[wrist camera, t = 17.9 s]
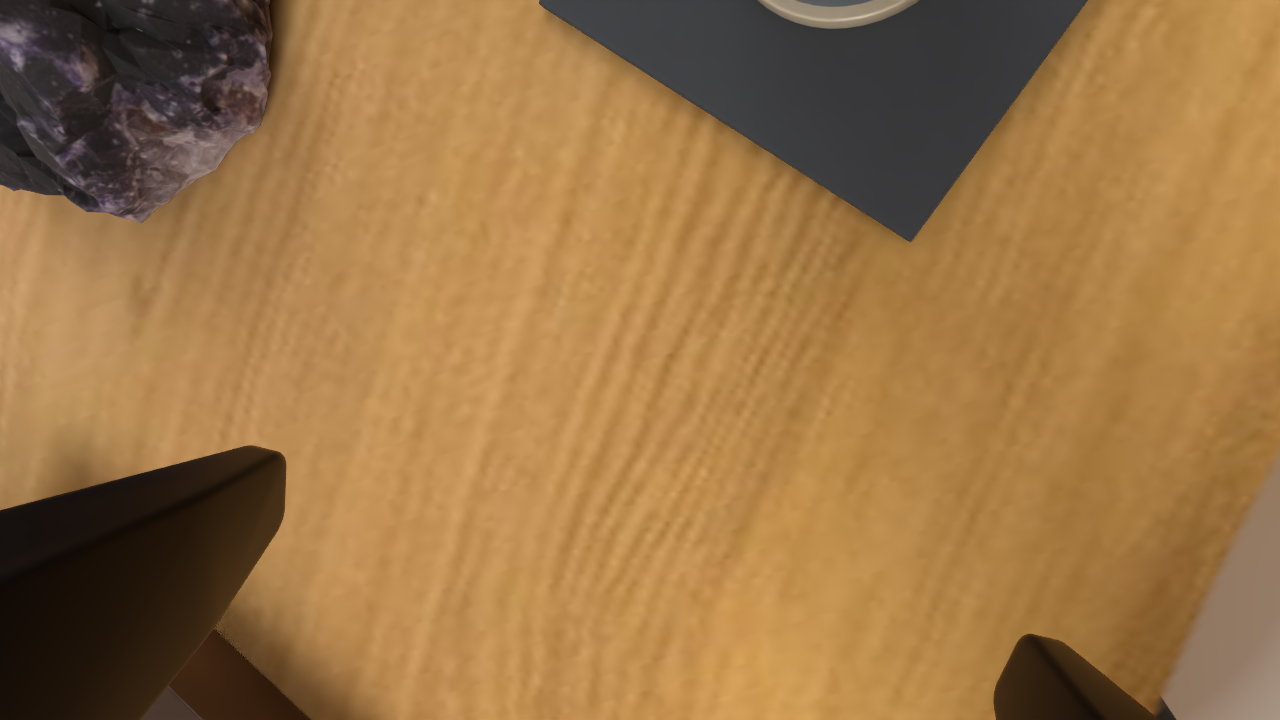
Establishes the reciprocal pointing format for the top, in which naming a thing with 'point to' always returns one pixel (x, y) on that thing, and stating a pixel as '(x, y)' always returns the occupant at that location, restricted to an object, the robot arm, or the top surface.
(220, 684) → the platform
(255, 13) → the crystal cluster
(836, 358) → the top surface
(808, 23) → the spool
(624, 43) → the felt mat
